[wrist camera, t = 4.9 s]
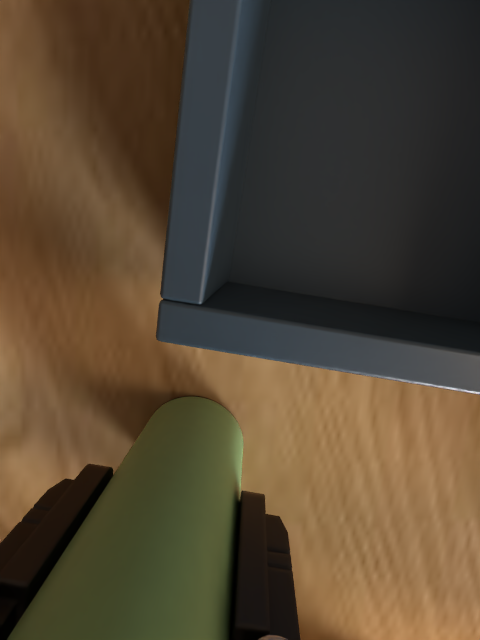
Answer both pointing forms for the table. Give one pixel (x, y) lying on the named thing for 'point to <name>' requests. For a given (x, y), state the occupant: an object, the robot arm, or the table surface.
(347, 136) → the open box
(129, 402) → the table surface
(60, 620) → the green tube
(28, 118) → the table surface
